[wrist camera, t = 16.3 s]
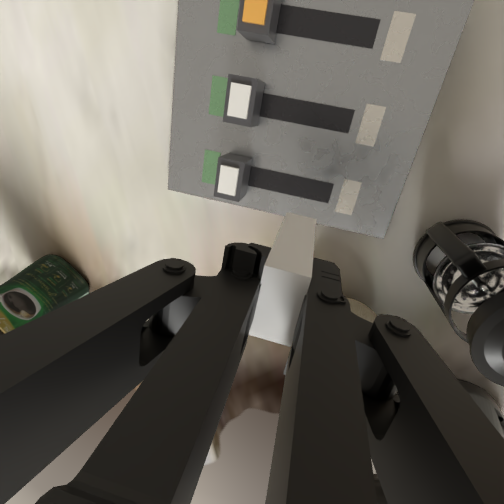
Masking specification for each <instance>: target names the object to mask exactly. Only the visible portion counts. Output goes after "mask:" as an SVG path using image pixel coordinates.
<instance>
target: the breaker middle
mask: <svg viewBox="0 0 504 504" xmlns="http://www.w3.org/2000/svg"><path fill="white" fill-rule="evenodd" d="M264 86H265V82H263V81H261V80H259V79H255V78H250V77H244V76H239V75H233V74H228V81H227V89H226V97H225V106H224V114H223V122H226V123H231V124H236V125H242V126H247V127H255V126H258V122H259V116H260V110H261V104H262V98H263V92H264Z"/></svg>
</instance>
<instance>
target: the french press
mask: <svg viewBox="0 0 504 504" xmlns="http://www.w3.org/2000/svg"><path fill="white" fill-rule="evenodd" d="M466 232H472V233H474V234H477V235H478V236H480V237H481V238H482V239H483V240H484V241H485V243H475V244H469V245H466V244H465V243H464V242H463V241H462V240H461V239H459V238H458V237H457V236H456V235H457V234H460V233H466ZM436 246H438V247H439V248H440V249H441V250H442V252H443V253H444V254H445V255H446V256H445V257H444V259H443V260H442V261H441V262H440V264H439V265H438V267H437V269H436V271H435V274H434V276H433V275H432V274H431V273H430V272H429V271H428V269H427V267H426V260H427V257H428V256H429V254H430V253H431V251H432V250H433V249H434V248H435V247H436ZM413 262H414V267H415V270H416V272H417V274H418V275H419V277H420V278H421V279H422V280H423V281H424V282H425V283H426V285H427V287H428V288H429V290H430V292H431V293H432V295H433V297H434V298H435V300H436V302H437V303H438V305H439V307H440V308H441V310H442V311H443V313H444V315H445V316H446V318H447V320H448V321H449V323H450V325H451V326H452V328H453V329H454V331H455V332H456V334H457V335H458V336H459V337H460V338H461V339H463V340H464V341H466V342H468V343H469V345H470V355H471V358H472V361H473V362H474V364H475V366H476V367H477V369H478V370H479V371H480V372H481V373H482V374H483V375H484V376H485V377H486V378H488V379H489V380H491V381H493V382H494V383H496V384H499V385H501V386H504V241H503V240H502V239H500V238H499V237H497V236H496V235H495V233H494V232H493V231H492V230H491V229H490V228H488V227H487V226H485V225H484V224H482V223H479V222H476V221H472V220H453V221H448V222H445V223H442V222H439V223H437V224H435V225H434V226H432V227H431V228H429V229H428V230H426V234H425V235H424V236H423V237H422V238H421V239H420V241H419V242H418V244H417V246H416V248H415V251H414V257H413ZM443 305H444V306H443ZM451 310H453V311H456V312H459V313H464V314H472V316H471V318H470V320H469V322H468V326H467V334H465V333H463V332H461V331H460V330H458V328H457V326H456V325H455V323H454V322H453V320H452V318H451Z"/></svg>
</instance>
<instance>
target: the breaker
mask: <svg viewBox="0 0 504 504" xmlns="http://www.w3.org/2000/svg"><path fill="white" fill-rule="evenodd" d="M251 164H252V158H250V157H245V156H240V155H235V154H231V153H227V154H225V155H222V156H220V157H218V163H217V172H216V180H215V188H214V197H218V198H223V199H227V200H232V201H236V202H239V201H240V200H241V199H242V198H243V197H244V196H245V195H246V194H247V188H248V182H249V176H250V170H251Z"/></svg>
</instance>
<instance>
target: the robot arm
mask: <svg viewBox="0 0 504 504" xmlns="http://www.w3.org/2000/svg"><path fill="white" fill-rule="evenodd" d="M315 231H316V219H314V218H310V217H306V216H302V215H297V214H293V213H289V212H287V213H286V215H285V218H284V220H283V222H282V225H281V227H280V230H279V232H278V234H277V237H276V239H275V241H274V244H273V246H272V248H270V247H266V246H262V245H258V244H254V243H250V244H246V243H231V244H228V245H226V246H225V251H224V257H223V263H222V269H221V271H220V272H219V273H218V275H217V276H197V275H195V270H196V268H195V267H194V266H193V265H192V264H191V263H189V262H187V261H184V260H181V259H176V258H171V259H163V260H160V261H157V262H155V263H153V264H151V265H148V266H146V267H144V268H142V269H140V270H138V271H136V272H134V273H132V274H129V275H127V276H125V277H123V278H121V279H119V280H117V281H115V282H113V283H110V284H108V285H106V286H104V287H102V288H100V289H98V290H96V291H94V292H91V293H89V294H87V295H85V296H83V297H81V298H79V299H77V300H75V301H72V302H70V303H68V304H66V305H64V306H62V307H60V308H58V309H56V310H53V311H51V312H49V313H47V314H45V315H43V316H41V317H39V318H37V319H34V320H32V321H30V322H28V323H26V324H24V325H22V326H20V327H18V328H16V329H13V330H11V331H9V332H7V333H5V334H3V335H1V336H0V504H5V503H6V502H7V501H8V500H9V499H10V498H11V497H13V496H14V495H15V494H16V493H17V492H18V491H19V490H21V489H22V487H24V486H25V485H26V484H27V483H28V482H29V481H31V480H32V479H33V478H34V477H35V476H36V475H37V474H38V473H39V472H41V471H42V470H43V469H44V468H45V467H46V466H47V465H48V464H50V463H51V462H52V461H53V460H54V459H55V458H56V457H57V456H59V455H60V454H61V453H62V452H63V451H64V450H65V449H66V448H68V447H69V446H70V445H71V444H72V443H73V442H74V441H75V440H76V439H78V438H79V437H80V436H81V435H82V434H83V433H84V432H85V431H87V430H88V429H89V428H90V427H91V426H92V425H93V424H94V423H96V422H97V421H98V420H99V419H100V418H101V417H102V416H103V415H105V413H107V412H108V411H109V410H110V409H111V408H112V407H114V405H116V404H117V403H118V402H119V401H120V400H121V399H122V398H124V397H125V396H126V395H127V394H128V393H129V392H130V391H131V390H133V389H134V388H135V387H136V386H137V385H138V384H139V383H140V382H142V381H143V380H144V381H143V382H142V383H141V385H140V386H139V388H138V389H137V391H136V392H135V393H134V395H133V396H132V398H131V399H130V401H129V402H128V403H127V405H126V406H125V408H124V409H123V411H122V412H121V414H120V415H119V416H118V418H117V419H116V421H115V422H114V424H113V425H112V426H111V428H110V429H109V431H108V432H107V433H106V435H105V436H104V438H103V439H102V441H101V442H100V443H99V445H98V446H97V448H96V449H95V451H94V452H93V453H92V455H91V457H90V458H89V459H88V461H87V462H86V463H85V465H84V466H83V468H82V469H81V470H80V472H79V473H78V474H77V476H76V477H75V478H74V479H73V480H72V481H71V482H69V483H68V484H67V485H63V486H57V487H53V488H52V489H51V490H49V491H48V492H47V493H46V494H44V495H43V496H42V497H40V498H39V500H38V501H37V502H36V503H35V504H190V503H191V500H192V497H193V494H194V491H195V489H196V486H197V483H198V480H199V477H200V474H201V471H202V469H203V466H204V463H205V460H206V457H207V454H208V452H209V449H210V446H211V443H212V440H213V437H214V434H215V432H216V429H217V426H218V423H219V420H220V417H221V414H222V412H223V409H224V406H225V403H226V400H227V397H228V394H229V392H230V389H231V386H232V383H233V380H234V377H235V374H236V372H237V369H238V366H239V363H240V360H241V357H242V355H243V352H244V349H245V346H246V343H247V338H248V334H249V335H252V336H255V337H259V338H262V339H265V340H269V341H272V342H276V343H279V344H282V345H286V346H289V347H291V345H292V347H291V350H290V353H289V357H288V360H287V363H286V367H285V370H284V373H283V374H285V375H286V376H285V382H284V389H283V395H282V401H281V408H280V414H279V420H278V426H277V433H276V439H275V445H274V452H273V458H272V464H271V471H270V477H269V484H268V490H267V496H266V502H265V504H504V416H503V414H502V412H501V410H500V409H499V407H498V405H497V404H496V402H495V400H494V399H493V398H492V397H491V396H490V395H489V394H488V393H487V392H486V391H484V390H483V389H481V388H480V387H478V386H476V385H474V384H471V383H468V382H465V381H461V380H457V378H456V377H455V376H454V375H453V373H452V372H451V371H450V369H449V368H448V367H447V366H446V364H445V363H444V362H443V361H442V359H441V358H440V357H439V355H438V354H437V353H436V352H435V350H434V349H433V348H432V347H431V345H430V344H429V343H428V341H427V340H426V339H425V338H424V336H423V335H422V334H421V333H420V331H419V330H418V329H417V328H416V327H415V326H413V325H412V324H410V323H409V322H407V321H406V320H405V319H401V318H400V317H397V316H392V315H382V314H381V315H378V316H376V318H375V320H374V322H373V323H372V322H370V321H367V320H365V319H363V318H361V317H359V316H357V315H355V314H354V313H353V312H351V308H350V303H349V301H348V299H347V298H346V297H345V296H344V295H343V294H342V287H341V277H340V269H339V268H338V267H337V266H336V265H335V263H332V262H328V261H324V260H320V259H317V258H313V255H314V243H315ZM148 319H149V320H148ZM147 320H148V321H147ZM249 330H250V331H249ZM292 341H293V343H292ZM397 390H398V393H399V394H398V395H397V394H396V391H397ZM371 459H372V462H373V464H374V467H375V470H376V473H377V474H373V470H372V463H371Z"/></svg>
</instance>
